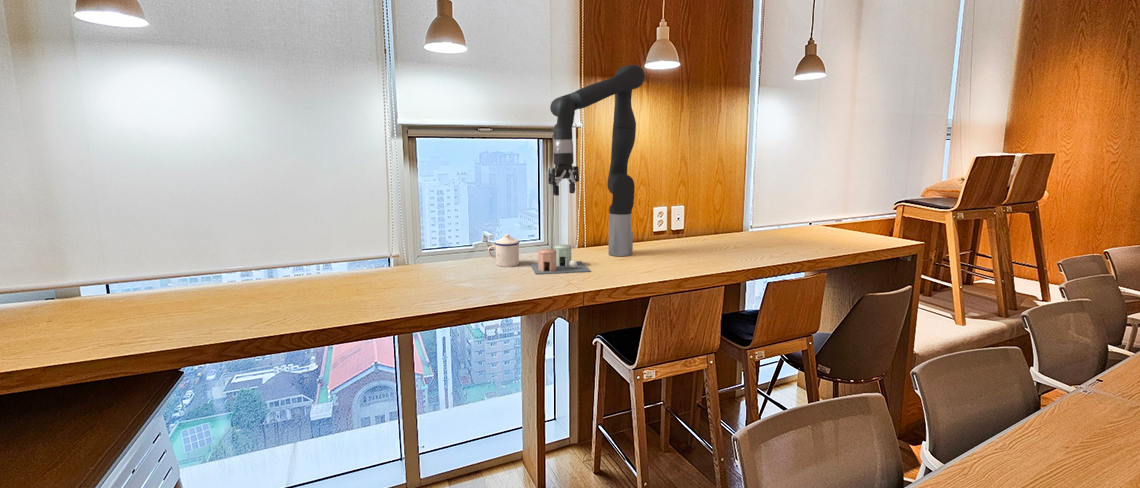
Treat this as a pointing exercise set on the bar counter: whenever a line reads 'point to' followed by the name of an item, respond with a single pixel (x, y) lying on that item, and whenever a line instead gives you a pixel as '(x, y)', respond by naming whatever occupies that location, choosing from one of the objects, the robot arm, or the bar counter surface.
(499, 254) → the teacup with lid
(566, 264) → the green piece
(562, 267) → the slate mat
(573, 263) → the ivory ball
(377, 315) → the bar counter surface
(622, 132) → the robot arm
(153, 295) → the bar counter surface
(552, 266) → the terracotta cup
